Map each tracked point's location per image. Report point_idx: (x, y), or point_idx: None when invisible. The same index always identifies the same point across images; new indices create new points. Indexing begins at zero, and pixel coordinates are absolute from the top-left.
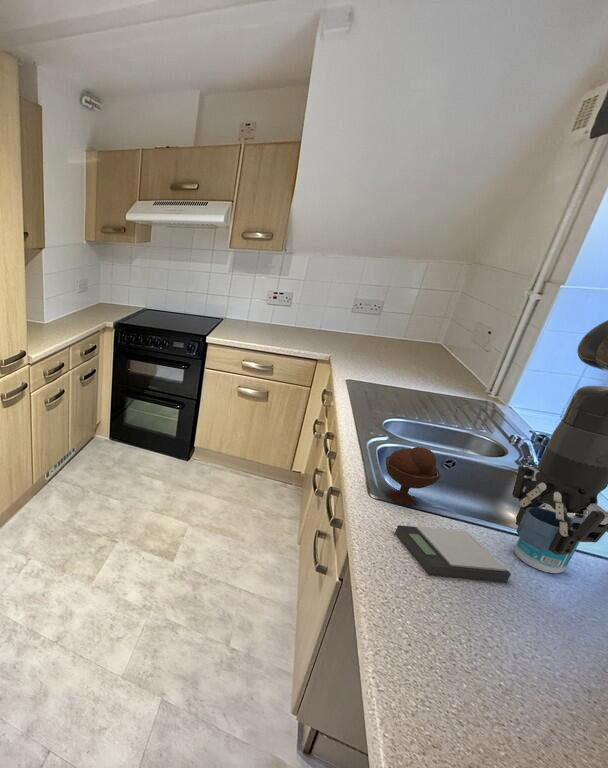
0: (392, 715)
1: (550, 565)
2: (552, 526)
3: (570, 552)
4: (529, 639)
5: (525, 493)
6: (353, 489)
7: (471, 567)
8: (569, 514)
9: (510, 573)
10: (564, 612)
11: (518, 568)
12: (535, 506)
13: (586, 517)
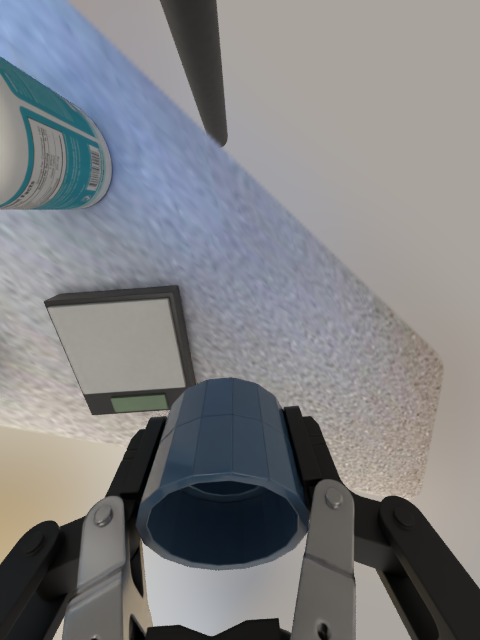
0: (390, 488)
1: (103, 170)
2: (291, 548)
3: (317, 426)
4: (302, 329)
5: (47, 585)
6: None
7: (179, 356)
8: None
9: (172, 293)
10: (234, 227)
11: (120, 230)
12: (130, 528)
13: (354, 629)
